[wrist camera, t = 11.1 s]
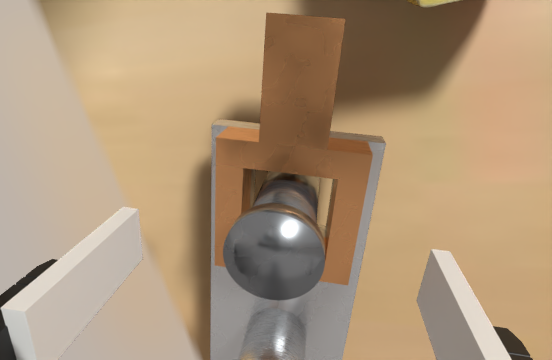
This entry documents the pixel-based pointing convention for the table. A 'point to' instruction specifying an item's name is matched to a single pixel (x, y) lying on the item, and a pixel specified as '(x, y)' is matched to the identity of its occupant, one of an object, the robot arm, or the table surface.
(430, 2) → the flower pot
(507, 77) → the table surface
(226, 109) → the table surface
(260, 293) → the pin
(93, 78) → the table surface
